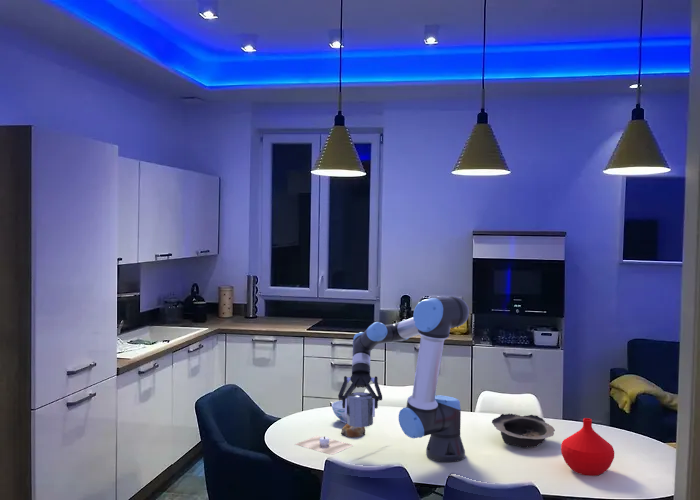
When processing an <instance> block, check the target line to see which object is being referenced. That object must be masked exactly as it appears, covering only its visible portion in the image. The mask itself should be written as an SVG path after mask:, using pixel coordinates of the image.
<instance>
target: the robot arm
mask: <svg viewBox="0 0 700 500" xmlns="http://www.w3.org/2000/svg"><path fill="white" fill-rule="evenodd" d="M469 309H470V308H469V306H468V303H466V301H465V300H464V299H462V298H460V297H457V296H445V297H443V296H442V297H429V298H426V299H422V300H421V301H419V302H418V303H417V304H416V306H415V307H414V310H413V316H412V317H410V318H408V319H404V320H402V321H399V322H395V323H392V324H384V323H382V322H380V321H374V322H373V323H371V324H370V325H369V326H368V327H367V328H366V330H365V331H364V332H363V331H360V332H357V333H355V334H354V336H353V339H352V363H351V366H352V367H351V376H350V377H349V376H348V377H347V376H346V375H345V376H343V383H342V385H341V388H340V390H339V392H338V395H337V396H338V401H342V407H343V408H345V417H347V395H348V394H350V393H354V392H353V391H354V390H355V389H356V388H358V389H359V388H365V389H366V390H367V391H368V393H370V394H372V395H373V418H375V417H376V414H375V413H376V411H375V410H376V409H379V408H378V407H379V405H378V404H379V401H382V400H383V394H382V391H381V388H380V386H379V382H378V380H379V379H378V376H374V377H372V376H371V351H372V350H373V349H374V348H376V346H379V345H382V344H388V343H395V342H404V341H407V340H409V339H410V338H413V337H416V336H420V340H419V346H418V347H419V348H418V355H417V360H416V367H415V375H414V380H413V387H412V395H410V396H409V397H408V398H407V401H406V407H405V406H404V407H403V408H401V409H400V411H399V412H398V424H399V426H400V428H401V430H402V431H403V433H404V434H405V436H407V437H409V438H410V439H418V438H419V439H420V438H423V437H425V436H426V437H427V436H429V435H430V436H429V439H428V442H427V446H426V450H425V456H426V457H428V459H430V460H432V461H436V462H441V463H455V462H460V461H463V460H464V459H465V457H466V450H465V446H464V443H463V440H462V437H461V423H462V422H461V421H462V420H461V417H462V416H461V415H462V413H461V411H462V409H461V401H460V399H458V398H455V397H452V396H448V395H440V394H439V395H437V394H436V393H437V389H438V388H437V387H438V381H439V374H440V369H441V363H442V357H443V356H442V355H443V349H444V343H445V340H447V339H448V338H449V336H450V332H451V329H454V328H458V327H460V326H463V325H464V324H465V323H466V322H467V321H468V319H469V315H470V310H469ZM350 382H351V384H350V386H349V388H348V387H347V386H348V384H349V383H350ZM370 382H372V383H373V384H374V387H375V390H376V393H377V394H376V393H375V391H374V389H373V387H372V386H371V385H370ZM347 388H348V389H347ZM346 389H347V390H346Z"/></svg>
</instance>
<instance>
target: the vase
mask: <svg viewBox="0 0 700 500" xmlns="http://www.w3.org/2000/svg"><path fill="white" fill-rule="evenodd" d="M592 423H593V420H592V418H588V417H584V418H583V420H582V428H580V429H579V430H578V431H576V432H575V433H573V434H571V435H570V436H568V437H566V438H564V439H563V440H562V442H561V444H560V447H561V449H560V453H561V455H562V458H563V460H564V463H566V465H567V466H568V467H569V468H570V469H571V470H572V471H573V472H575V473H576V474H579V475H582V476H588V477H597V476H601V475H602V474H604V473H605V472H607V471H608V470H609V468H610V467H611V465H612V463H613V462H614V460H615V450H614V447H613V445H612V444H611V443H610V442H609V441H607V440H606V439H605V438H603V437H602V436H601V435H600V434H598V433H597V432H596V431H595V430H594V428H593V425H592Z"/></svg>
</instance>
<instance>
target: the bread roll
mask: <svg viewBox="0 0 700 500" xmlns="http://www.w3.org/2000/svg"><path fill="white" fill-rule="evenodd" d="M340 434H341V435H343V436H345V437H347V438H359V437H363V436H365V435H366V428H365V427H353V426H350V425H348V424H347V423H345V425H344V426H342V429H341V432H340Z"/></svg>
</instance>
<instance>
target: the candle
mask: <svg viewBox="0 0 700 500" xmlns="http://www.w3.org/2000/svg"><path fill="white" fill-rule="evenodd" d="M329 439H330V438H329V437H328V436H327V437H326V436H321V438H320V446H329Z"/></svg>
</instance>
